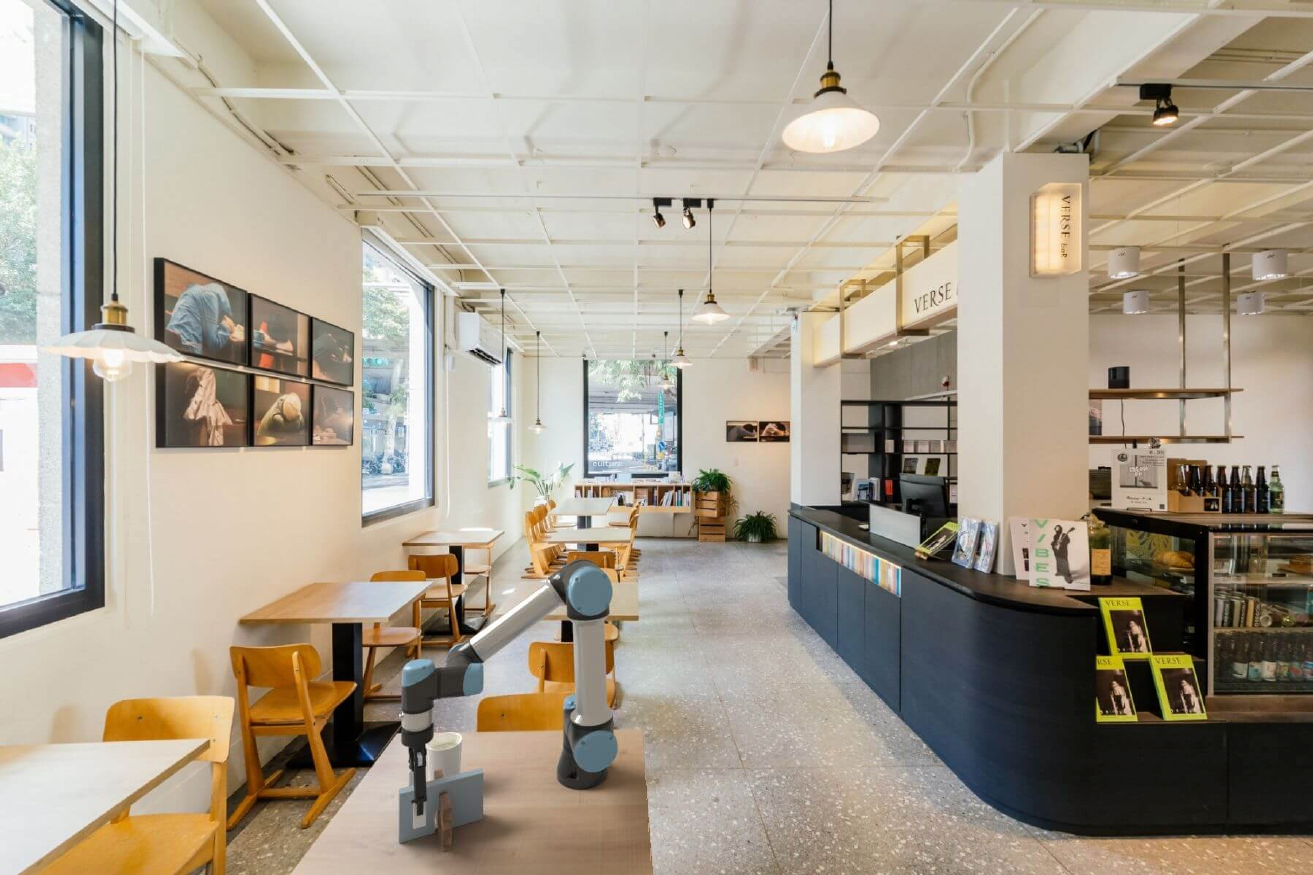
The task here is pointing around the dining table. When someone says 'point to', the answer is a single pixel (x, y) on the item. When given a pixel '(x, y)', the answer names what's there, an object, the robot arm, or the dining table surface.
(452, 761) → the candle holder
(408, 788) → the slate plate
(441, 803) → the walnut rail
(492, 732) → the dining table surface
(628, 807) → the dining table surface
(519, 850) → the dining table surface
